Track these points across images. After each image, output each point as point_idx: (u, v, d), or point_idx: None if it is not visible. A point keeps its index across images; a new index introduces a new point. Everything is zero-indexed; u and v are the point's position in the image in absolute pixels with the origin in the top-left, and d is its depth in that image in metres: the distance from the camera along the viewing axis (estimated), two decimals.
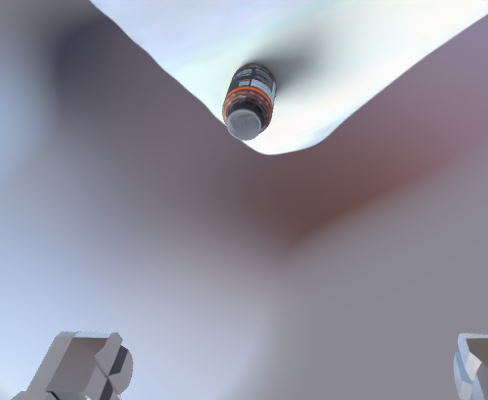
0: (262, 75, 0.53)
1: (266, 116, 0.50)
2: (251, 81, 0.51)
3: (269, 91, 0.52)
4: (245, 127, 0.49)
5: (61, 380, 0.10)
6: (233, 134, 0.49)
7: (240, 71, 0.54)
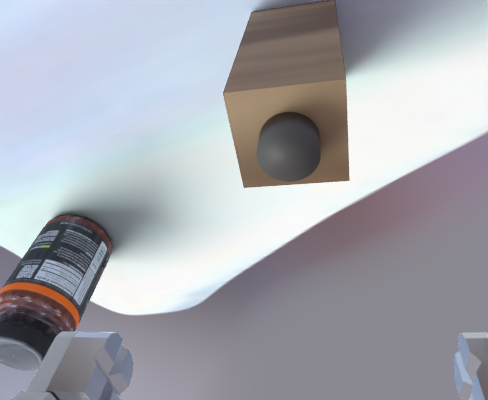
0: (72, 242, 0.33)
1: (61, 329, 0.30)
2: (41, 265, 0.31)
3: (76, 277, 0.32)
4: (15, 358, 0.29)
5: (62, 380, 0.10)
6: (2, 363, 0.30)
7: (43, 231, 0.34)
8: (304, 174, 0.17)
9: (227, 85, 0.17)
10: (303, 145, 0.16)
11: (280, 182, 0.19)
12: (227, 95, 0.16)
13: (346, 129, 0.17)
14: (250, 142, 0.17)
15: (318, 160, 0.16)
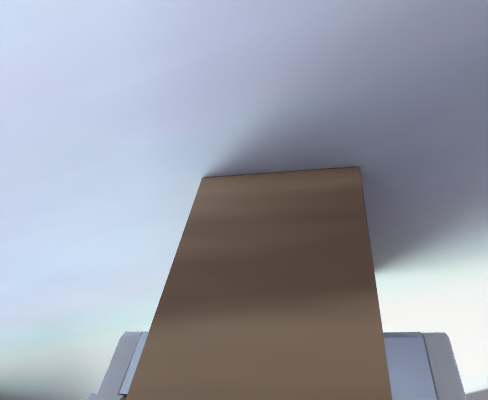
0: None
1: None
2: None
3: None
4: None
5: None
6: None
7: None
8: None
9: None
10: None
11: None
12: None
13: None
14: None
15: None
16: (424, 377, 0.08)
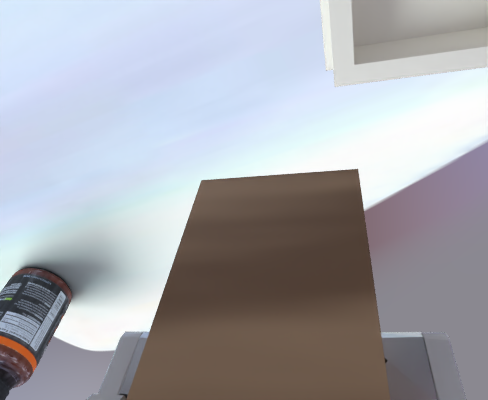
0: (32, 294, 0.38)
1: (18, 373, 0.35)
2: (2, 316, 0.36)
3: (33, 326, 0.37)
4: None
5: None
6: None
7: (8, 284, 0.39)
8: None
9: None
10: None
11: None
12: None
13: None
14: None
15: None
16: (424, 377, 0.08)
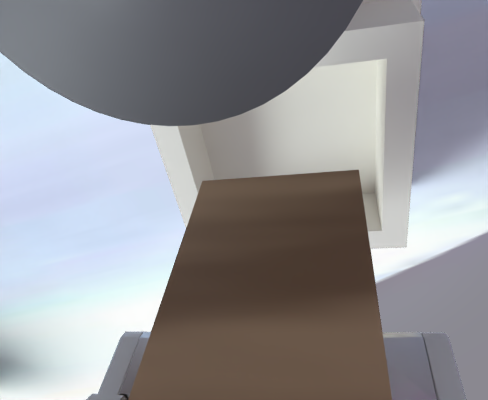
0: None
1: None
2: None
3: None
4: None
5: None
6: None
7: None
8: None
9: None
10: None
11: None
12: None
13: None
14: None
15: None
16: (424, 377, 0.08)
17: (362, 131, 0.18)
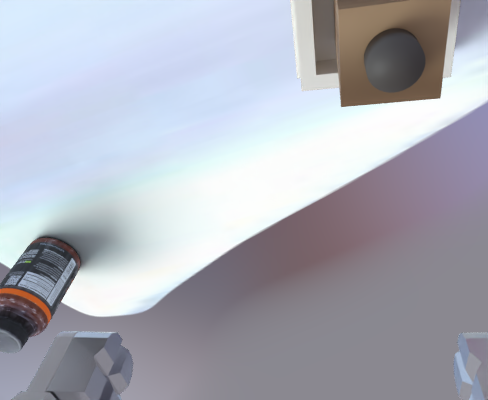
0: (48, 259, 0.44)
1: (36, 323, 0.41)
2: (23, 275, 0.42)
3: (49, 285, 0.43)
4: (2, 343, 0.40)
5: (61, 380, 0.10)
6: None
7: (27, 250, 0.46)
8: (407, 84, 0.19)
9: (339, 5, 0.19)
10: (411, 54, 0.18)
11: (376, 100, 0.21)
12: (342, 12, 0.18)
13: (445, 45, 0.19)
14: (355, 59, 0.20)
15: (422, 70, 0.18)
16: None
17: None
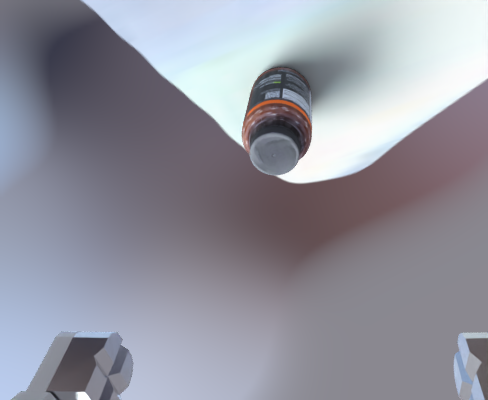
0: (295, 82, 0.39)
1: (305, 140, 0.35)
2: (282, 91, 0.37)
3: (306, 105, 0.37)
4: (275, 158, 0.34)
5: (61, 380, 0.10)
6: (258, 167, 0.35)
7: (265, 77, 0.40)
8: None
9: None
10: None
11: None
12: None
13: None
14: None
15: None
16: None
17: None
